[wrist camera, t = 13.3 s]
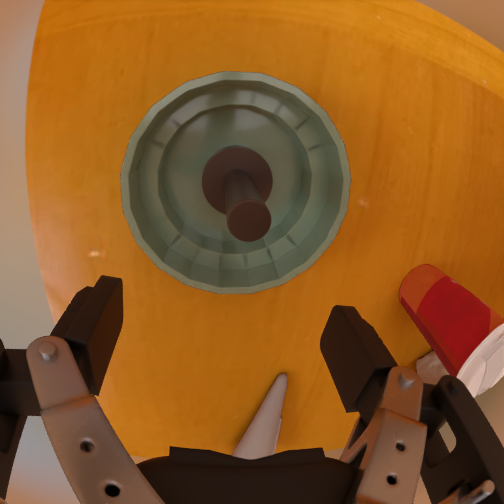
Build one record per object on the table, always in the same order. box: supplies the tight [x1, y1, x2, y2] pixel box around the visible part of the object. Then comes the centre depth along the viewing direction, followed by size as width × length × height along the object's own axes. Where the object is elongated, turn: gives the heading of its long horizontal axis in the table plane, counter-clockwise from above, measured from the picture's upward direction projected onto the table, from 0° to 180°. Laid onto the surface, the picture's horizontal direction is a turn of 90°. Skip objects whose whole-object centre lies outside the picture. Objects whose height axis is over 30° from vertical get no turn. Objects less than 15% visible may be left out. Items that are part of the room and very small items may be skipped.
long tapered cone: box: [231, 373, 288, 459], centre depth 36 cm, size 6×6×19 cm
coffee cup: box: [399, 264, 504, 398], centre depth 24 cm, size 8×8×15 cm
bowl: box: [120, 71, 351, 294], centre depth 21 cm, size 15×15×6 cm
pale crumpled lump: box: [416, 351, 449, 385], centre depth 35 cm, size 15×7×15 cm
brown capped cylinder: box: [202, 145, 273, 242], centre depth 18 cm, size 5×5×11 cm
